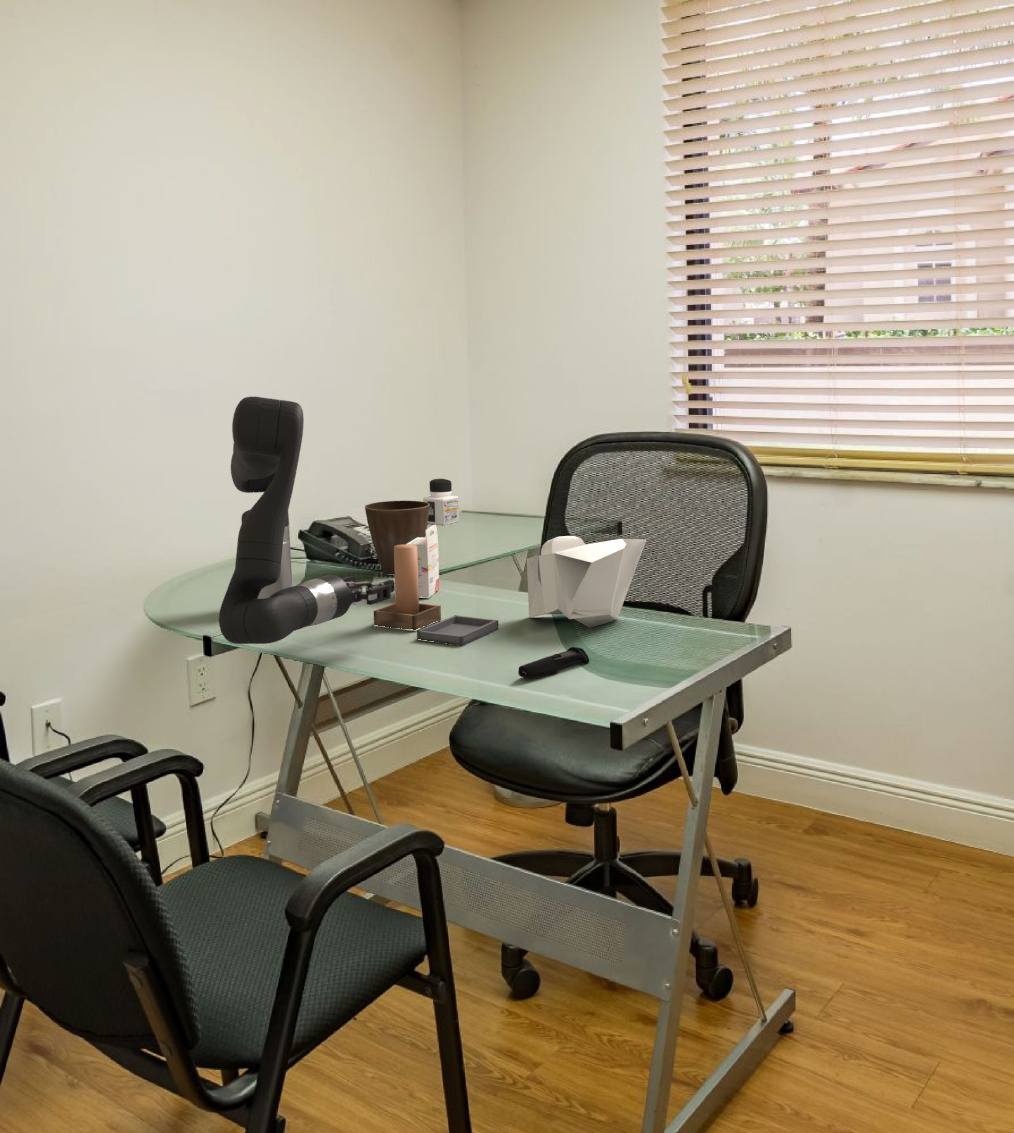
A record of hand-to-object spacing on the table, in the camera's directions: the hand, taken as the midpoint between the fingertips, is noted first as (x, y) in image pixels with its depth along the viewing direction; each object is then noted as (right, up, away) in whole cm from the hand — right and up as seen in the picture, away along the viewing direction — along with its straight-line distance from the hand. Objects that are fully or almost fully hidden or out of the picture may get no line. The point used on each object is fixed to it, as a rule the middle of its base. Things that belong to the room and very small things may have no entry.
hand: (372, 583), depth 206 cm
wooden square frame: (+5, -8, +12) cm, 15 cm away
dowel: (+5, -8, +12) cm, 15 cm away
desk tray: (+15, -9, +3) cm, 18 cm away
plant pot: (-1, +1, +60) cm, 60 cm away
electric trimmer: (+32, -14, -20) cm, 41 cm away
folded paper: (+41, -8, +12) cm, 43 cm away
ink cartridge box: (+7, -3, +37) cm, 38 cm away
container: (+5, +16, +133) cm, 134 cm away
